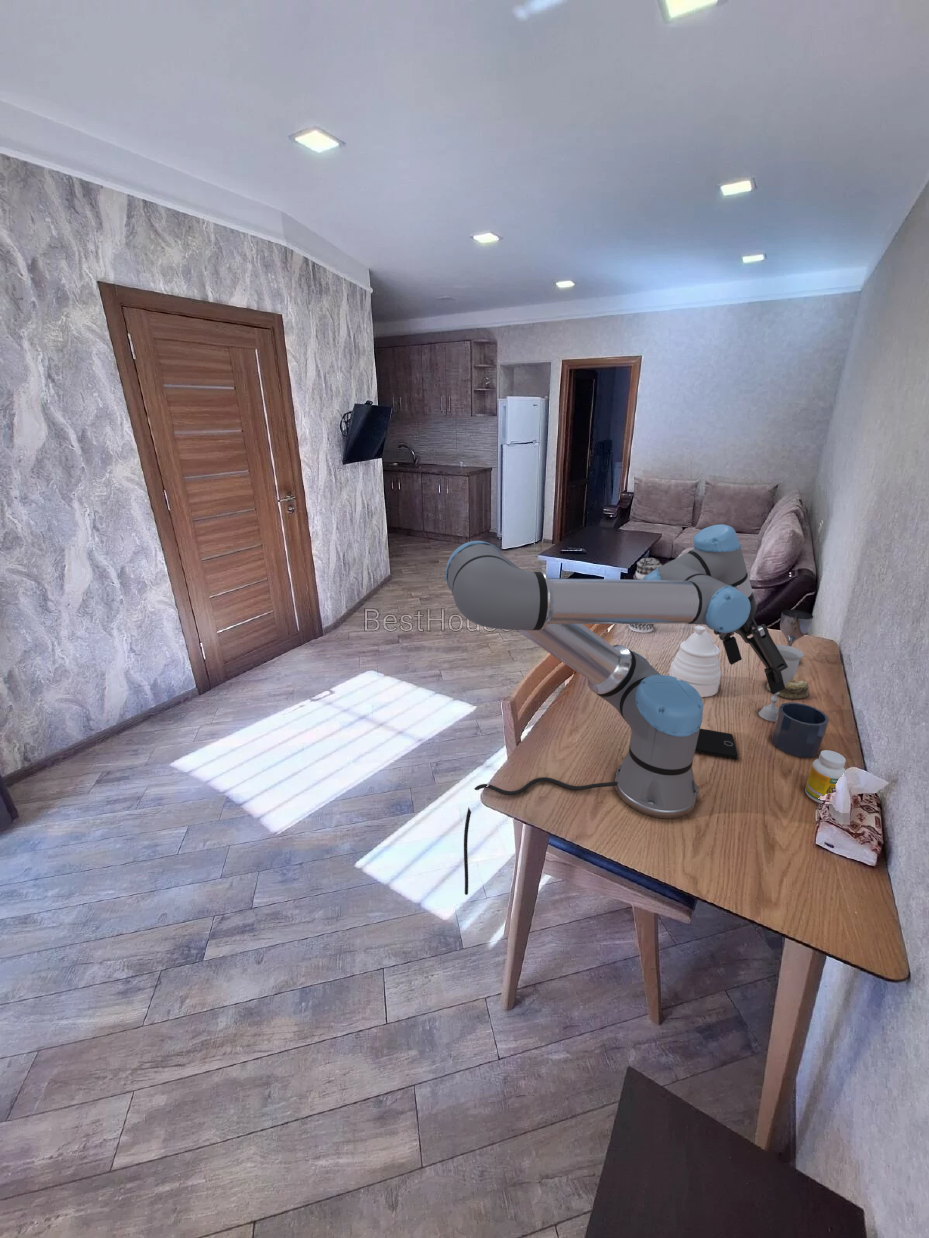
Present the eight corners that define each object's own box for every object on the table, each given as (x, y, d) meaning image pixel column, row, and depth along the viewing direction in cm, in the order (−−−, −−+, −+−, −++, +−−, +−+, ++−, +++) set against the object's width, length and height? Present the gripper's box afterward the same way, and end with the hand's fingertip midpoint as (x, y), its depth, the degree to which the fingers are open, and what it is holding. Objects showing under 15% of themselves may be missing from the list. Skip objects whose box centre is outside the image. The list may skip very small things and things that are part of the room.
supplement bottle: (817, 784, 102) (829, 745, 99) (843, 801, 98) (857, 761, 94) (797, 790, 100) (809, 751, 97) (823, 808, 96) (837, 768, 92)
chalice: (790, 725, 121) (809, 659, 115) (760, 722, 123) (776, 656, 116) (779, 709, 128) (796, 645, 121) (750, 706, 129) (765, 643, 123)
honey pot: (704, 702, 132) (717, 639, 125) (659, 684, 141) (668, 625, 134) (725, 685, 139) (738, 626, 133) (681, 669, 148) (691, 613, 142)
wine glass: (801, 657, 155) (813, 612, 149) (800, 667, 149) (813, 621, 143) (771, 651, 159) (782, 607, 153) (770, 661, 153) (781, 616, 147)
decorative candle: (636, 620, 184) (644, 554, 174) (659, 628, 177) (669, 559, 168) (621, 627, 178) (629, 559, 169) (645, 635, 172) (655, 564, 162)
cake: (792, 704, 131) (795, 687, 129) (757, 688, 139) (760, 671, 137) (817, 693, 134) (821, 676, 132) (781, 678, 143) (785, 661, 141)
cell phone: (737, 759, 109) (738, 756, 109) (650, 744, 115) (650, 740, 114) (731, 737, 117) (732, 733, 117) (650, 723, 122) (650, 720, 122)
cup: (797, 761, 109) (807, 728, 106) (761, 737, 117) (769, 706, 114) (828, 752, 112) (838, 720, 108) (791, 730, 120) (800, 699, 116)
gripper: (795, 609, 90) (816, 695, 99) (711, 570, 113) (734, 643, 122) (757, 629, 91) (781, 713, 99) (682, 586, 114) (706, 658, 122)
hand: (755, 675), depth 110 cm, fingers open, 13 cm apart
